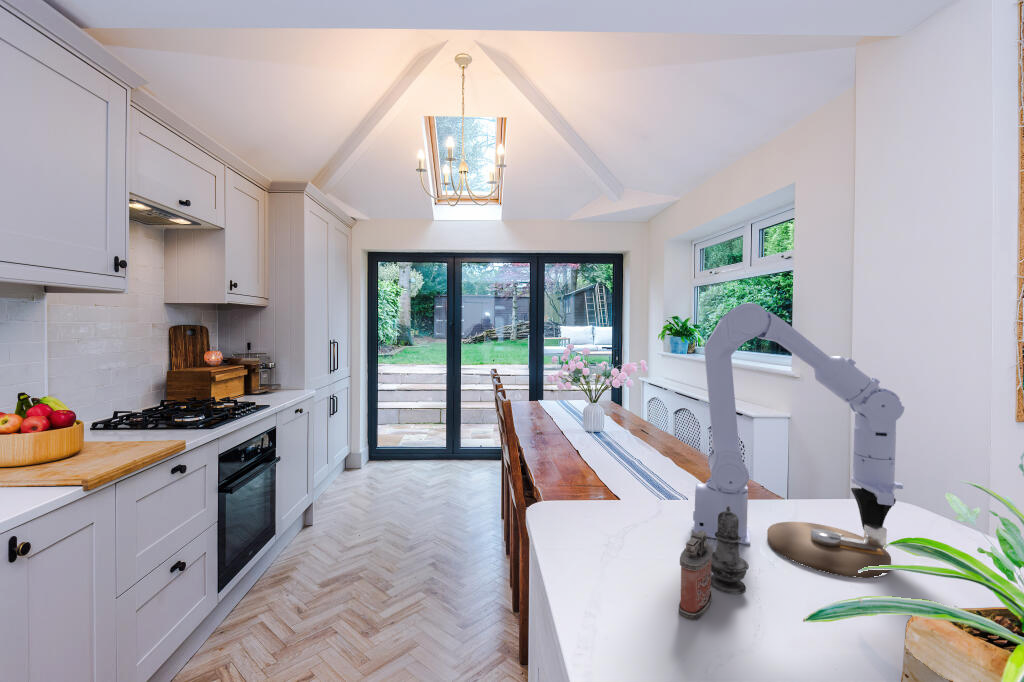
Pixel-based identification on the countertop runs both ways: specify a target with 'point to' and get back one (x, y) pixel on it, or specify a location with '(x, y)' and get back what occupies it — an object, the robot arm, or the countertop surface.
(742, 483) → the robot arm
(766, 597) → the countertop surface
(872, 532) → the silver dumbbell
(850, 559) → the dial plate
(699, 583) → the lighter
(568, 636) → the countertop surface
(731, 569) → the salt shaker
